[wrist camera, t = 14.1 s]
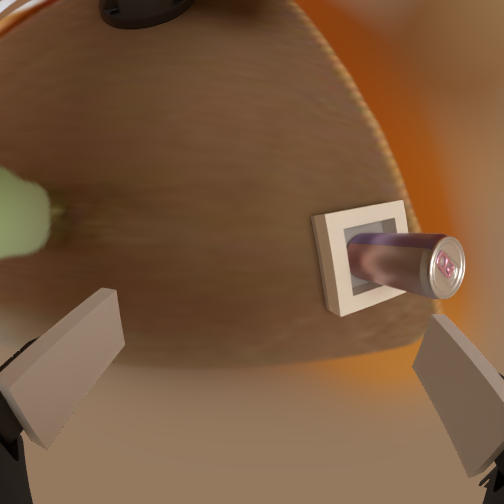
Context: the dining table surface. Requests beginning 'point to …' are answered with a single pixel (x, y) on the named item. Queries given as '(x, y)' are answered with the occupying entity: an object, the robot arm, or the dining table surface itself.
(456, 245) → the beverage can
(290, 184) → the dining table surface
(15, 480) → the robot arm
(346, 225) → the holder
